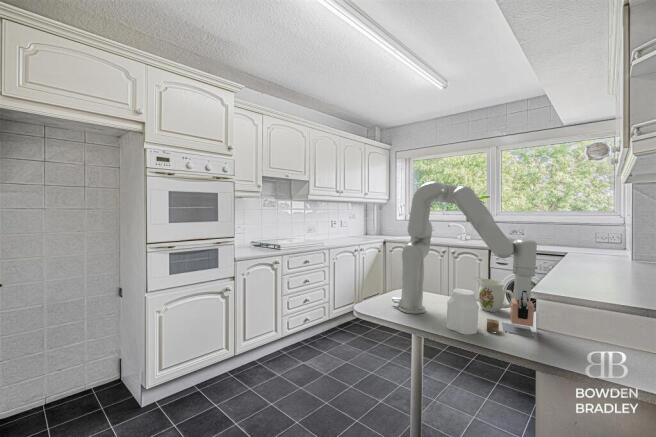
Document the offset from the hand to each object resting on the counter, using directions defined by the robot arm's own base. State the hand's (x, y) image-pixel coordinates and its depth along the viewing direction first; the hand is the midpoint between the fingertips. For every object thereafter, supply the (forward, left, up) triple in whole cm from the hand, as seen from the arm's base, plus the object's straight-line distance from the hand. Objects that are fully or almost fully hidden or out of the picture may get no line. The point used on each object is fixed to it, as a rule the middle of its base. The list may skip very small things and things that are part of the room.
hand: (521, 315), depth 126 cm
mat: (-1, 0, -6) cm, 6 cm away
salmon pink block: (0, 0, -3) cm, 3 cm away
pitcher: (-9, +21, -6) cm, 24 cm away
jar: (-21, -10, -6) cm, 24 cm away
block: (-10, -6, -6) cm, 13 cm away
